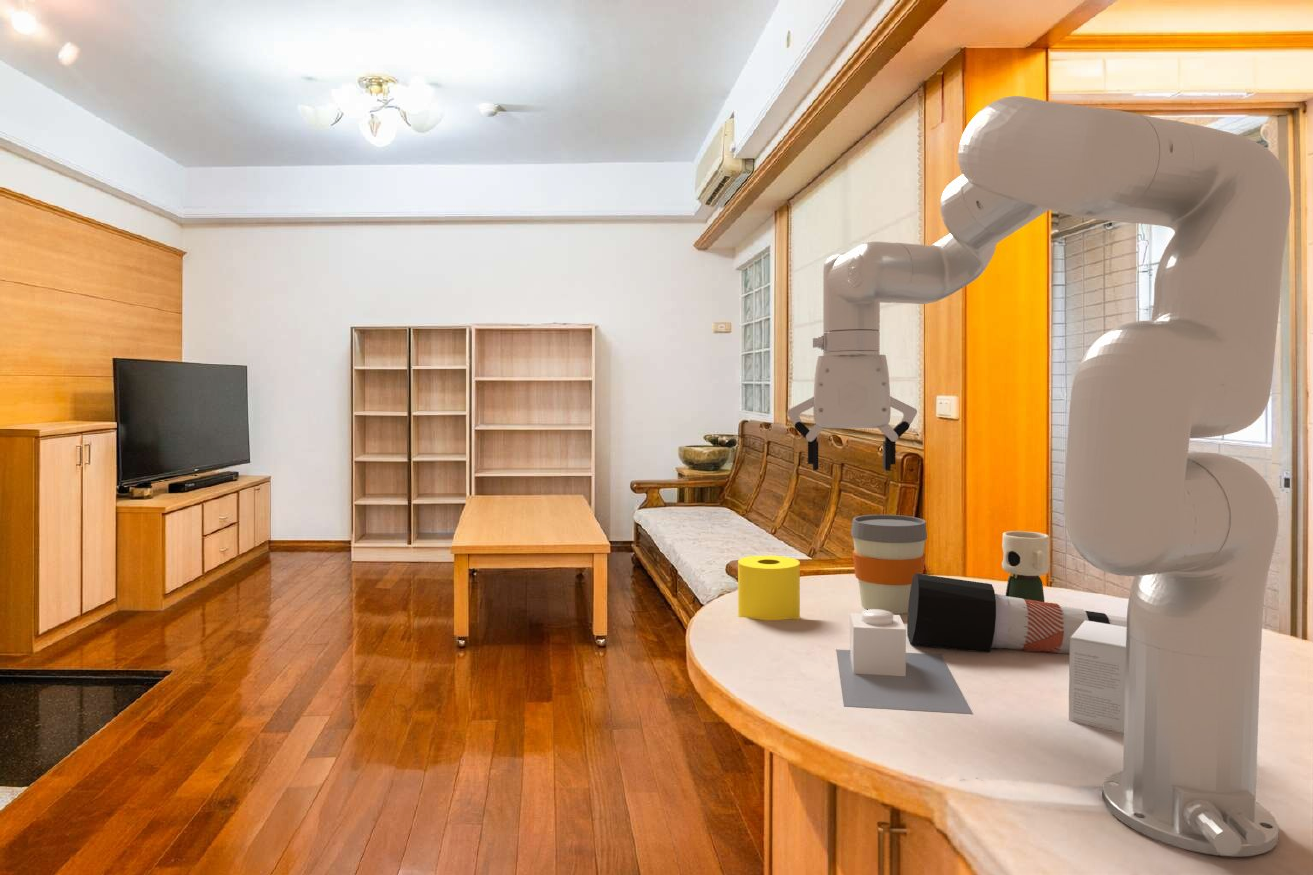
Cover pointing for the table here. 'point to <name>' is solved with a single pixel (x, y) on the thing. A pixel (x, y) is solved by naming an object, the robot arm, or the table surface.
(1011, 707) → the table surface
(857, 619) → the white push button box
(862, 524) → the reusable coffee cup
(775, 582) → the yellow toilet paper roll
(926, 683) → the plate
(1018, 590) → the character mug
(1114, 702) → the small box
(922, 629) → the black and white bottle
